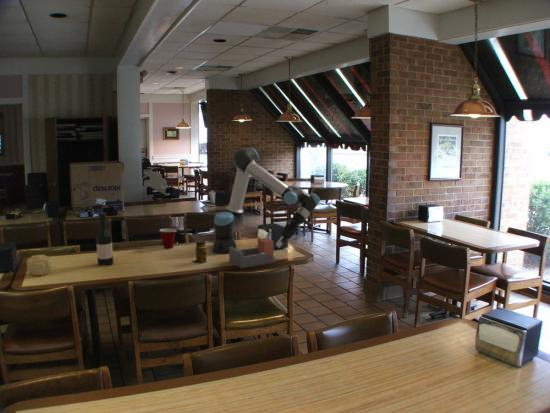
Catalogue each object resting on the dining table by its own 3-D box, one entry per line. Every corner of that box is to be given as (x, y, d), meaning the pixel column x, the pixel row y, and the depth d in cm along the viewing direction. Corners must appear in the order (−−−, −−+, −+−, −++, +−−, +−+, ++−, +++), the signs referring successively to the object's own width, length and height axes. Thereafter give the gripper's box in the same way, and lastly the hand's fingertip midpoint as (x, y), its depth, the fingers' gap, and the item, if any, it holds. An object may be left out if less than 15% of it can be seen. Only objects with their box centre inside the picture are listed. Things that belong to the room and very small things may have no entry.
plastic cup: (181, 246, 310) (180, 228, 308) (168, 250, 301) (168, 232, 299) (168, 244, 316) (168, 226, 313) (156, 248, 307) (155, 230, 304)
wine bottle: (116, 262, 277) (113, 211, 272) (107, 267, 270) (103, 214, 264) (104, 261, 280) (101, 210, 274) (94, 265, 272) (91, 213, 267)
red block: (257, 255, 285) (257, 239, 283) (267, 253, 288) (267, 237, 287) (264, 259, 278) (264, 242, 276) (274, 257, 282) (274, 240, 280)
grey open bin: (229, 261, 280) (228, 247, 279) (265, 255, 292) (265, 241, 290) (241, 268, 267) (240, 253, 265) (278, 261, 279) (278, 247, 277)
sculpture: (27, 279, 250) (25, 259, 248) (28, 272, 261) (26, 252, 259) (51, 276, 255) (49, 256, 253) (51, 269, 266) (50, 250, 263)
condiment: (209, 262, 279) (208, 242, 276) (195, 264, 274) (195, 244, 272) (203, 259, 285) (203, 239, 282) (190, 261, 280) (189, 241, 278)
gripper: (310, 221, 288) (286, 252, 283) (298, 217, 299) (275, 247, 294) (303, 213, 284) (279, 244, 279) (291, 209, 295) (268, 239, 290)
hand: (277, 246), depth 286 cm, fingers closed
